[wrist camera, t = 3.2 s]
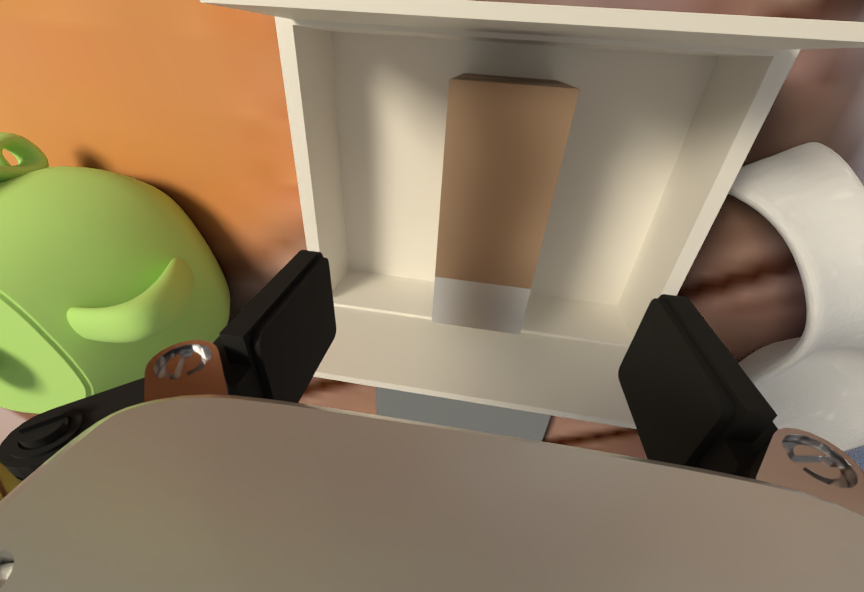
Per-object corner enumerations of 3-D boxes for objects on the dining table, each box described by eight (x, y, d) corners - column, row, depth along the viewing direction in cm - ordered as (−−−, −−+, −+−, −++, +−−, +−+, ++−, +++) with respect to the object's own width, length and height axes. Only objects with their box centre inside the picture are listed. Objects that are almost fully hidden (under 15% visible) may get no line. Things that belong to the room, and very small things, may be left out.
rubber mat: (561, 371, 31) (563, 380, 30) (521, 488, 41) (521, 497, 40) (377, 344, 33) (374, 351, 32) (381, 463, 43) (378, 471, 42)
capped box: (556, 80, 20) (579, 89, 14) (515, 273, 26) (519, 334, 21) (464, 73, 20) (449, 79, 15) (446, 265, 27) (431, 322, 21)
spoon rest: (881, 406, 28) (982, 498, 23) (707, 436, 33) (752, 519, 27) (886, 103, 19) (1065, 124, 13) (639, 203, 23) (687, 252, 17)
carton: (738, 38, 18) (978, 18, 9) (623, 311, 27) (684, 439, 18) (319, 13, 20) (170, -25, 11) (341, 274, 29) (269, 371, 20)
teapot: (32, 89, 25) (-388, 117, 13) (294, 250, 29) (148, 385, 17) (38, 277, 35) (-201, 390, 23) (233, 379, 39) (113, 523, 27)
